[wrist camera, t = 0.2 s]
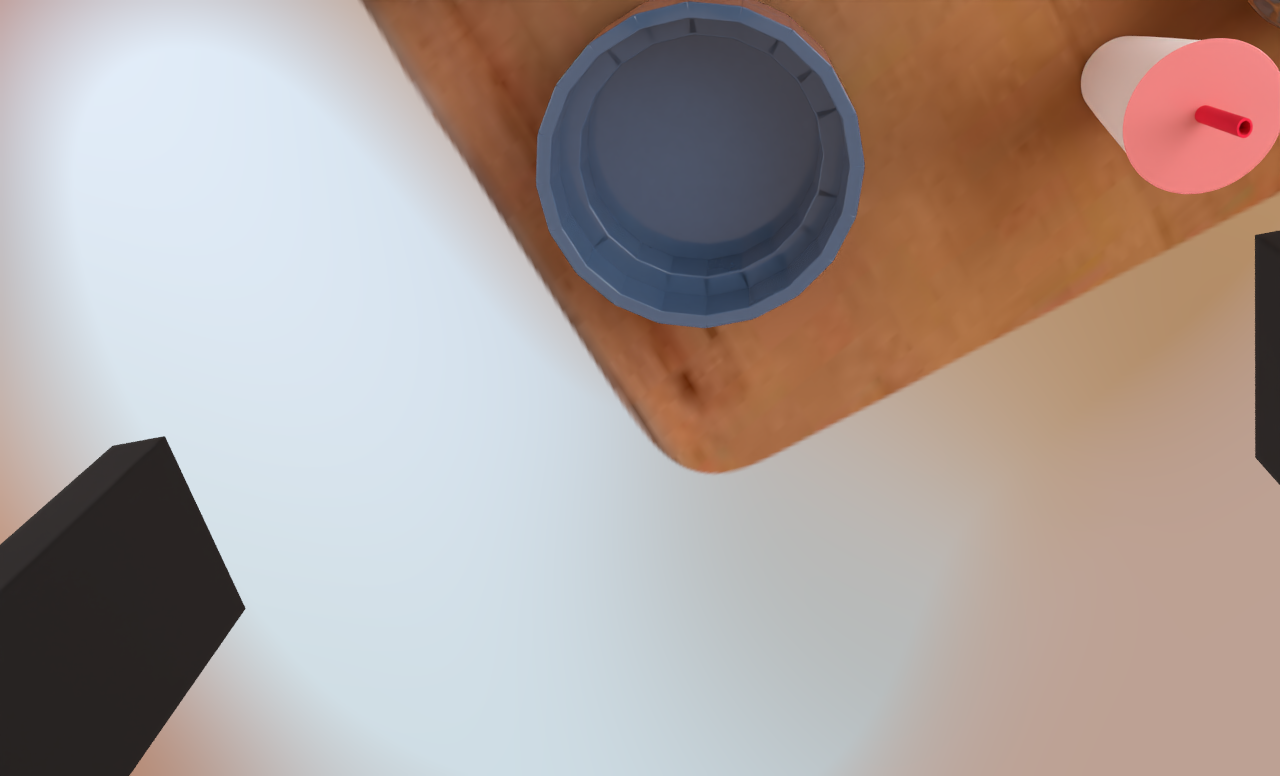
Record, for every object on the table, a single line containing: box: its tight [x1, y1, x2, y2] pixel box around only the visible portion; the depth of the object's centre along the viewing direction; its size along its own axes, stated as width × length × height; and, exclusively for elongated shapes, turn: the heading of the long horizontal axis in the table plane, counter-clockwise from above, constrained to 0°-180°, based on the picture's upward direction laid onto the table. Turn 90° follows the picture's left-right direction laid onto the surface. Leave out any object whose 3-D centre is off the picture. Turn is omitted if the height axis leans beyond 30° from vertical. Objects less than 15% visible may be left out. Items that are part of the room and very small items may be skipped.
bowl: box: [536, 0, 865, 328], centre depth 45 cm, size 13×13×6 cm
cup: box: [1081, 36, 1280, 194], centre depth 40 cm, size 5×5×12 cm
